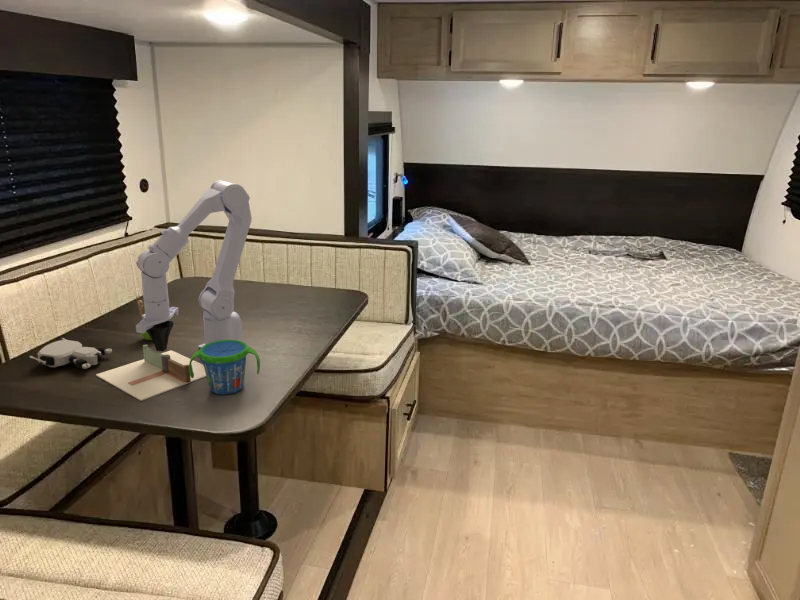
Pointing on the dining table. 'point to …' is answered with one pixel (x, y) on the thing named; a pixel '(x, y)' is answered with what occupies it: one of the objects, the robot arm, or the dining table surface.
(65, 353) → the robot toy
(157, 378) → the card
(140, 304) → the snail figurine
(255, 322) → the dining table surface
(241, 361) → the snack cup
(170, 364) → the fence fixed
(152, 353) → the fence gate
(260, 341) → the dining table surface
